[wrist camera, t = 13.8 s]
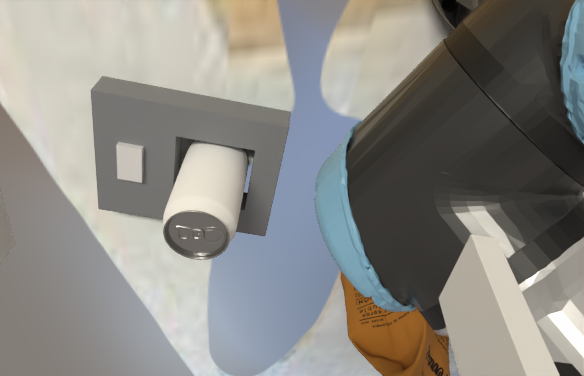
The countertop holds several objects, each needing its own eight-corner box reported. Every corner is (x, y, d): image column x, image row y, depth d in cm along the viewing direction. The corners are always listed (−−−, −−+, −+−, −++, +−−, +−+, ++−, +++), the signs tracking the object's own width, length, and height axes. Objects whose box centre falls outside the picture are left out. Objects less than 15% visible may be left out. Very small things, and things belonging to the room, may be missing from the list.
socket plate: (290, 111, 46) (288, 130, 43) (267, 218, 54) (264, 240, 52) (102, 76, 44) (88, 92, 42) (108, 191, 53) (96, 212, 50)
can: (247, 186, 52) (233, 266, 42) (188, 180, 52) (161, 260, 42) (249, 135, 48) (235, 210, 38) (185, 129, 48) (154, 203, 38)
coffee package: (363, 293, 62) (384, 476, 44) (330, 226, 55) (340, 411, 37) (439, 274, 59) (494, 461, 41) (415, 201, 52) (468, 388, 35)
